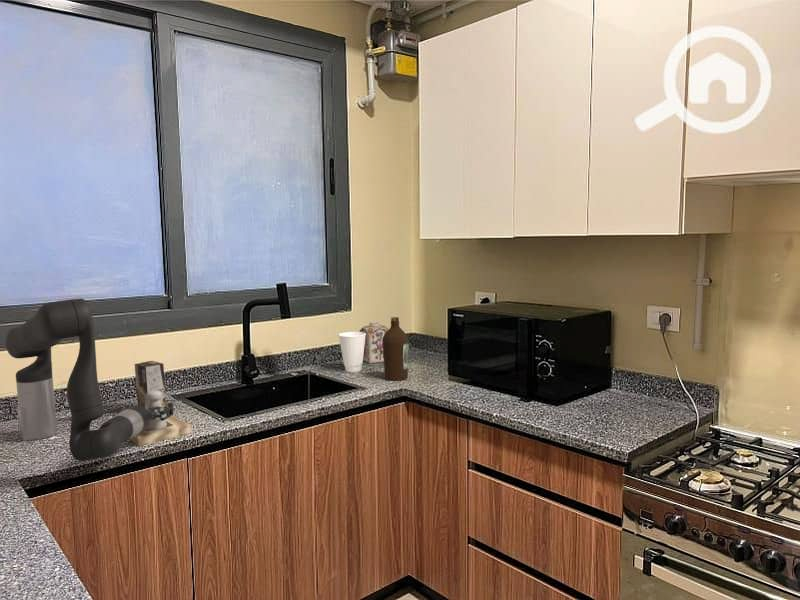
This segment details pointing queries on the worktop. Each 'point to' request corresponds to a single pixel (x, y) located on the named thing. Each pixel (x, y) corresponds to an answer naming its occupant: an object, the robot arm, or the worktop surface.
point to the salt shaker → (155, 401)
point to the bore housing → (163, 432)
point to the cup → (352, 350)
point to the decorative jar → (373, 342)
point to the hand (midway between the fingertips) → (157, 405)
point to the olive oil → (395, 352)
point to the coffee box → (149, 380)
